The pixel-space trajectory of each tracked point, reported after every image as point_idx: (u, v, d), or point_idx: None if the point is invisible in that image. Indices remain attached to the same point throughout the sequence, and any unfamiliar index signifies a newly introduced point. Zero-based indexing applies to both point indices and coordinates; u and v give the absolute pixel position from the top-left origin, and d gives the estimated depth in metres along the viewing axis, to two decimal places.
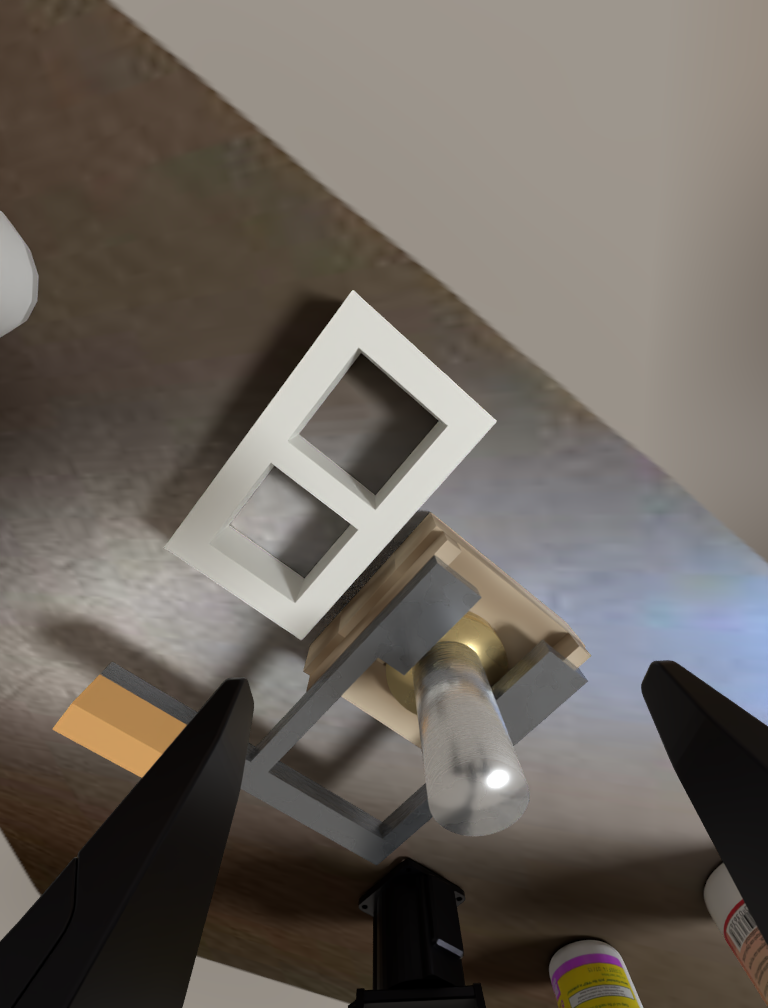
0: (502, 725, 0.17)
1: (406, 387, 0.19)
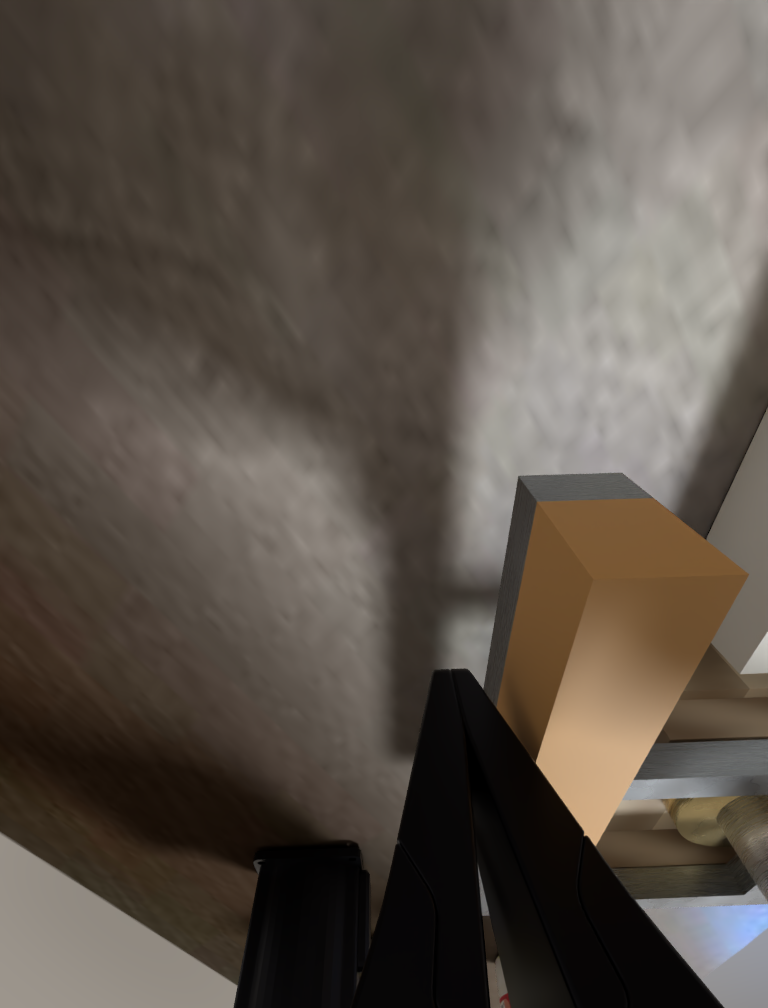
0: None
1: None
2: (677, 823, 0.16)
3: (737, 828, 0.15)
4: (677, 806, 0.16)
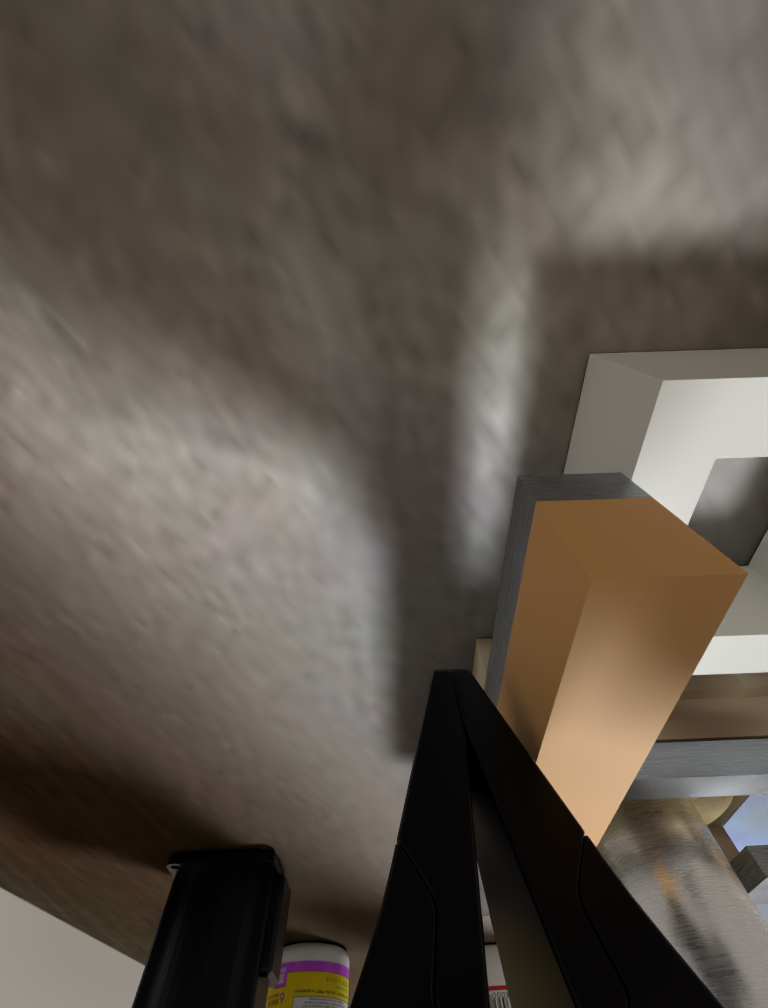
0: None
1: None
2: None
3: None
4: None
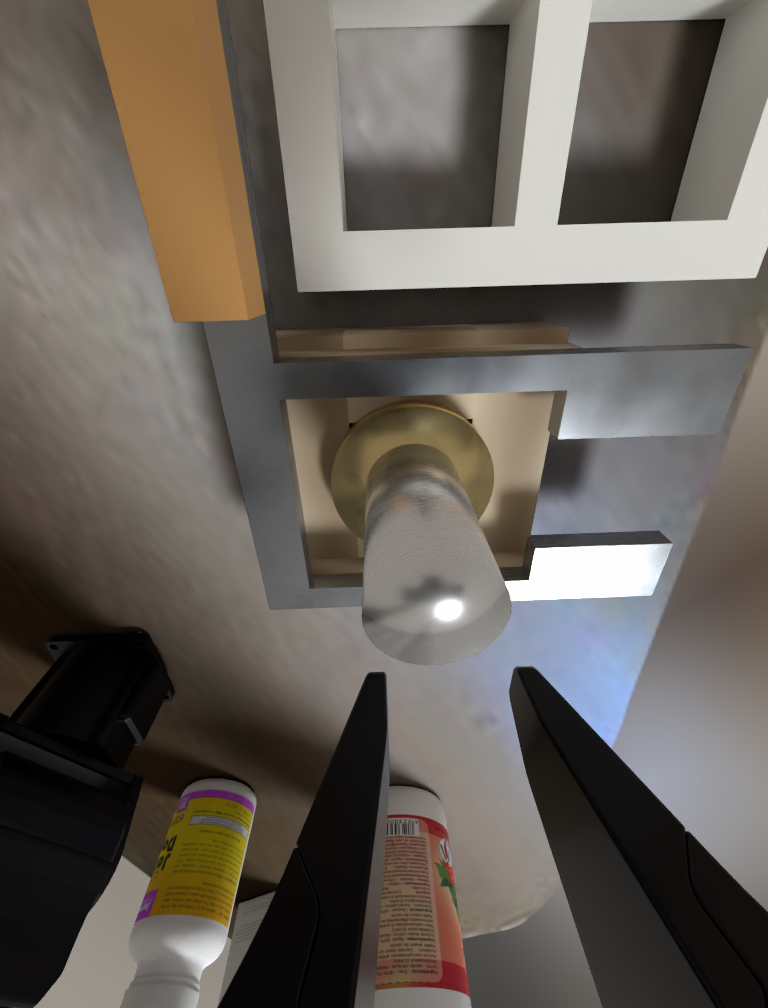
0: None
1: None
2: (337, 511, 0.18)
3: None
4: None
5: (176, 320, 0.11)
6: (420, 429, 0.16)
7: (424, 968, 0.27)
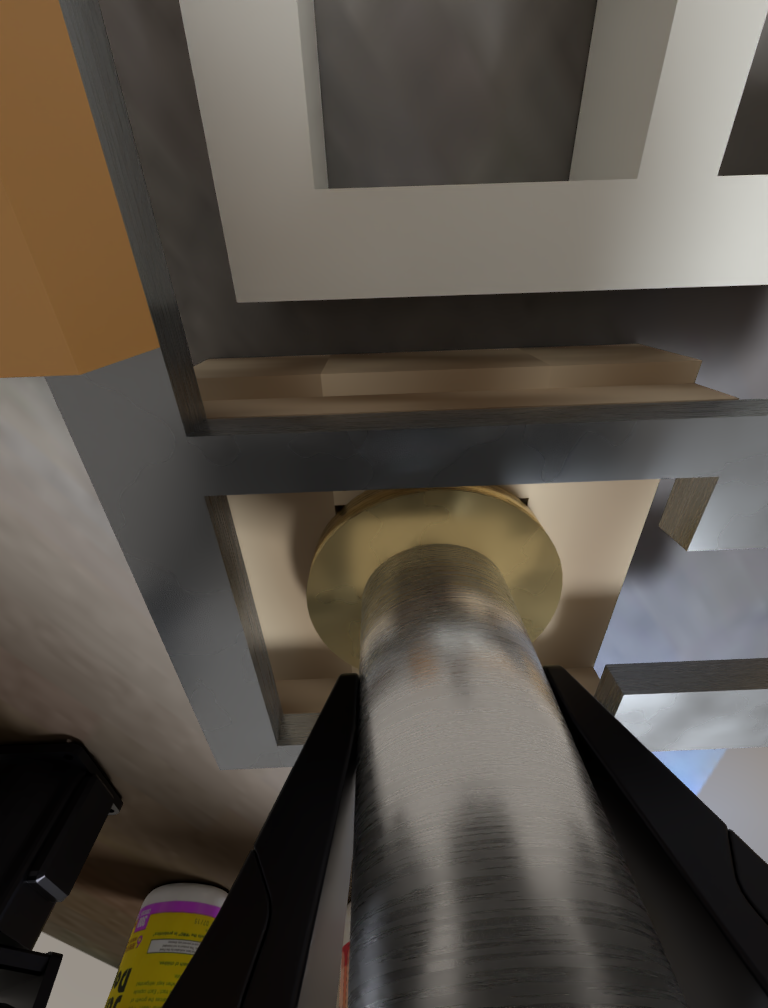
0: None
1: None
2: (318, 633, 0.12)
3: (361, 617, 0.10)
4: None
5: None
6: (450, 522, 0.10)
7: None
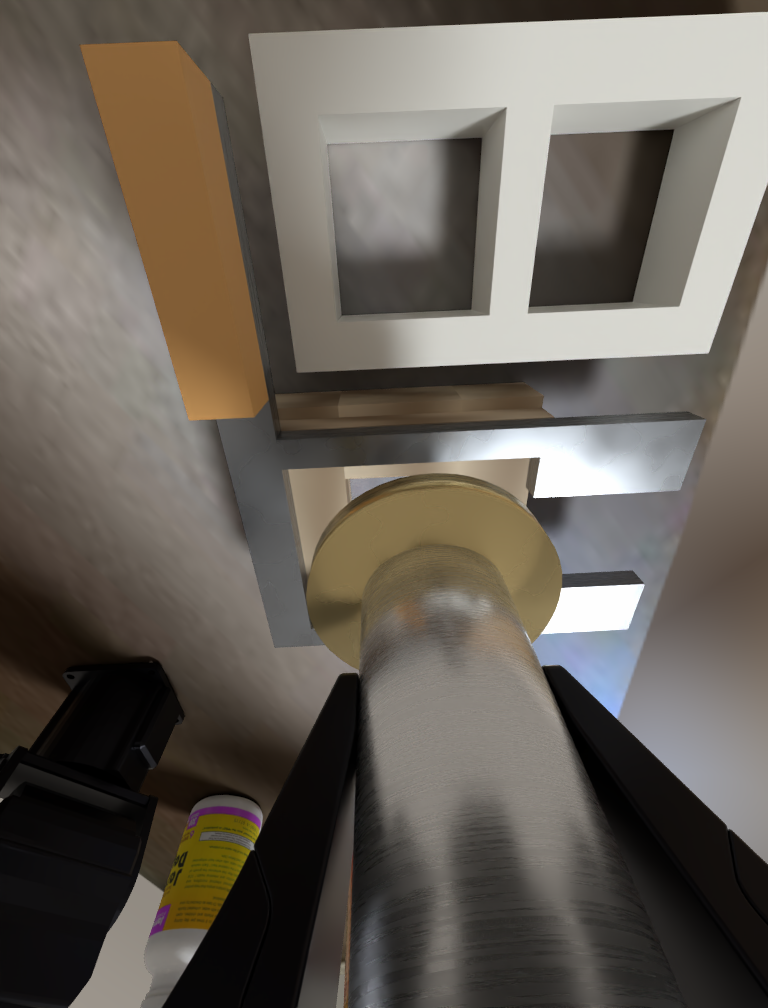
0: None
1: (709, 214, 0.13)
2: (318, 634, 0.12)
3: (361, 618, 0.10)
4: None
5: (191, 419, 0.12)
6: (450, 523, 0.10)
7: None
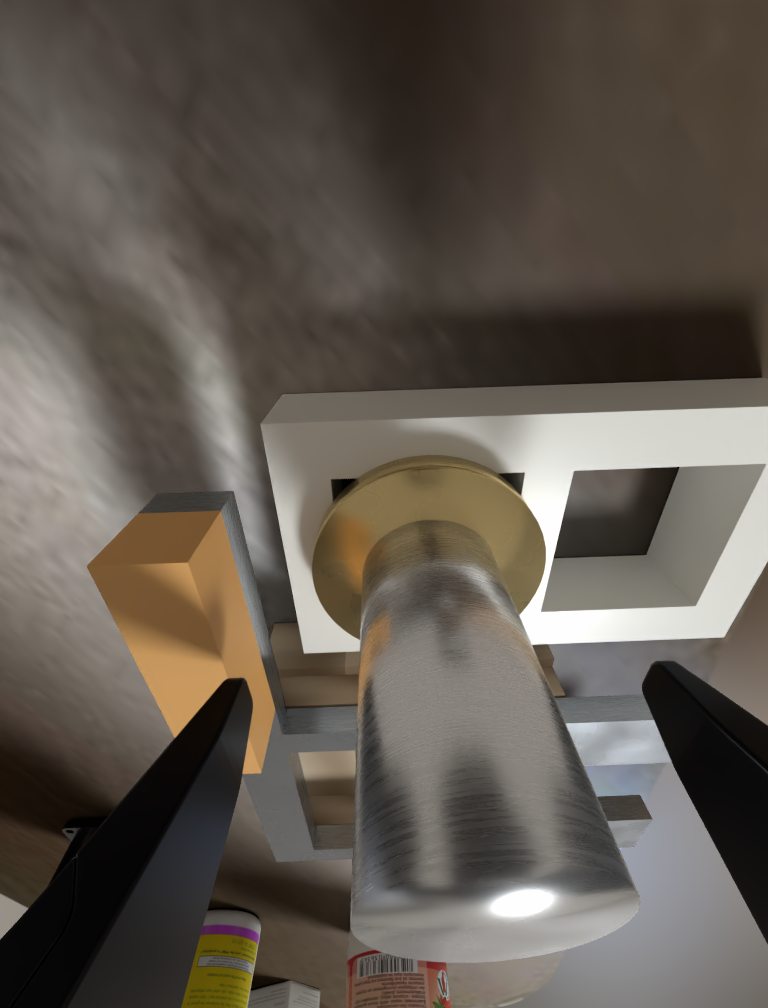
0: None
1: (729, 544, 0.13)
2: (322, 605, 0.13)
3: (362, 587, 0.11)
4: None
5: None
6: (442, 499, 0.11)
7: None
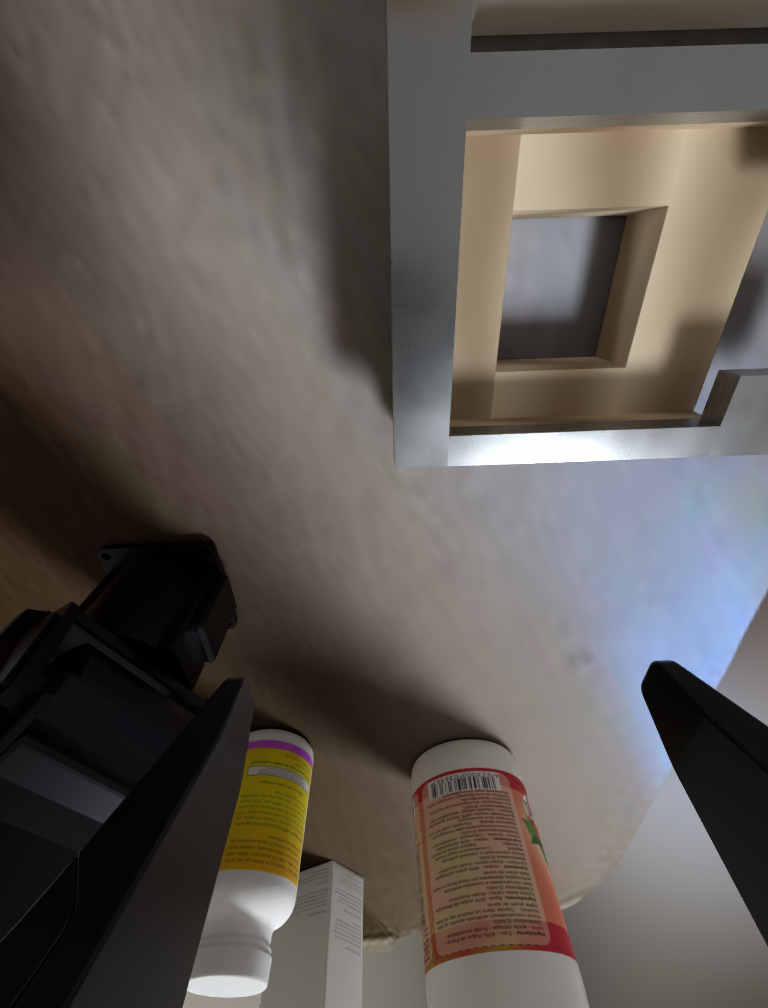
0: None
1: None
2: None
3: None
4: None
5: None
6: None
7: (530, 929, 0.23)
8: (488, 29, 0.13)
